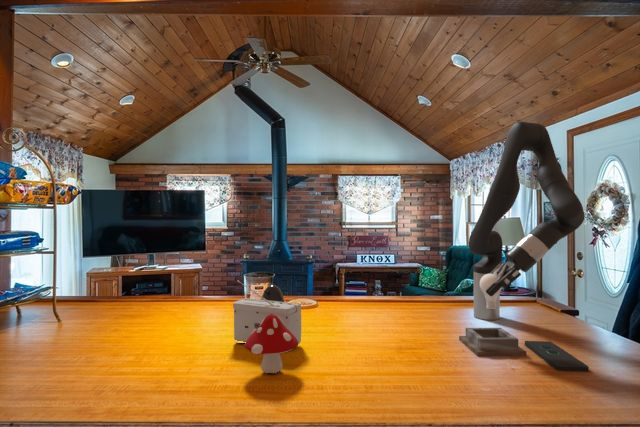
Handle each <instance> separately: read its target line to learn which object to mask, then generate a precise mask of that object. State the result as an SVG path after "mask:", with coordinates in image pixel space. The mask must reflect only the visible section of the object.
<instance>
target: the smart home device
mask: <svg viewBox="0 0 640 427" xmlns="http://www.w3.org/2000/svg"><path fill="white" fill-rule="evenodd" d="M524 346H525V347H526V348H527V349H528V350H530V351H531V352H533V353H534V354H535V355H536V356H537V357H539V358H540V359H541V360H543V361H544V362H545V363H546V364H548V365H549V366H550V367H551V368H553V369H554V370H556V371H558V372H585V373H586V372H589V369H590V368H589V366H588V365H587V364H586V363H584V362H582V360H580V359H578V358H576V356H574V355H572V354H571V353H569V352H568V351H566V350H565V349H563V348H562V347H560V346H558V345H557V344H556V343H554V342H552V341H546V340H545V341H543V340H542V341H541V340H524Z"/></svg>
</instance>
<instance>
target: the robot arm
mask: <svg viewBox="0 0 640 427" xmlns="http://www.w3.org/2000/svg"><path fill="white" fill-rule="evenodd" d="M506 136H507V137H506V140H505V142H504V143H505V144H504V147H503V151H502V155H501V158H500V162H499V165H498V168H497V170H496V172H495V173H496V174H495V176H494V179H493V181H492V184H491V186H490V189H489V191H488V195H487V197H486V200H485V203H484V205H483V208H482V210H481V212H480V215H479V218H478V219H477V221H476V223H475V225H474V227H473V229H472V231H471V234H470V236H469V238H468V248H469V251H470V252H471V254H473V255H476V256H482V258H481V259H480V260H479V261H478V262H476V263H474V264H473V317H475V318H476V319H479V320H485V321H495V320H499V319H500V313H501V312H500V311H501V310H500V309H501V308H500V306H501V305H500V304H501V303H500V302H501V301H500V299H501V296H500V295H501V294H500V293H501V292H500V293H499V294H498V296H497V300H496V309H494V310H489V309H487V308H486V305H487V303H486V298H485V295H484V293H483V291H482V290H481V288H480V279H481V278H482V276H484V275H485V274H490V273H491V274H495V275H497V276H498V279H497V280H496V281H495V283H493V284H492V285H491V286H490V287H489V288H488V289H487V290H486V293H487V294H488V295H489V296H493V295H494V294H495V293H496V292H497V291H498V290H499V289H500V288H502V289H503V288H504V289H506V288H508V287H509V286H510V285H511V284H512V283H514V281H516V280H517V279H518V278H519V277H521V275H522V274H521V272H522V273H527V272H528V271H529V270H530V269H532V268H533V267H534V266H535V265H536V264H537V263H538V262H539V261H540V260H541V259H542V258H544V256H545V255H546V253H548V252H549V251H550V249H552V248H553V247H554V246H555V245H556V244H557V243H558V242H559V241H560V240H562V239H563V238H565V237H567V236H569V235H570V234H571V233H573V232H574V231H576V230H577V229H579V228H580V227H581V225H582V224H584V221H585V218H586V217H585V216H586V215H585V212H584V206H583V204H582V203H581V200H580V199H579V197H578V195H577V194H576V193H575V192H574V190H573V189H572V187H571V186H570V183H569V181H568V179H567V178H566V176H565V174H564V173H563V171H562V168H561V167H560V164H559V161H558V160H557V156H556V153H555V150H554V146H553V143H552V140H551V136H550V133H549V131H548V129H547V128H546V127H545V126H544V125H543V124H541V123H538V122H537V123H535V122H527V121H517V122H515V123H514V124H513V125H512V126H511V127H510V129H509V130H508V134H507V135H506ZM522 151H528V152H532V153H533V154H534V155H535V156H536V158H537V160H538V167H537V173H536V176H537V181H538V182H537V183H538V184H539V186H540V188H541V190H542V193H543V194H544V195H545V197H546V199H547V200H548V201H549V203H550V205H551V208H552V210H553V212H554V215H555V216H554V217H553V218H552V219H550V220H549V221H542V222H540V223H538V224H537V225H536V226H535V227H534V228H533V229H532V230H531V231H530V232H529V233H527V234H526V235H525V236H523V237H522V238H521V239H520V240H519V241H518V242H516V243H515V245H514V246H512V248H510V249H509V250H508V251H507V252H506V253H505V257H506V258H507V261H506V262H503V239H502V236H501V234H500V233H499V232H498V231H496V230H493V229H494V228H495V226H496V224H497V223H498V222H499V221H500V220H501V219H502V218H503V217H504V216H505V215H506V214H508V212H509V211H510V210H511V209H512V208H513V206H514V204H515V202H516V199H517V198H518V195H519V194H520V190H521V183H520V178H519V173H518V163H519V162H518V161H519V158H520V155H521V152H522ZM520 271H521V272H520Z"/></svg>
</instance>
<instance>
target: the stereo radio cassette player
mask: <svg viewBox="0 0 640 427" xmlns="http://www.w3.org/2000/svg"><path fill="white" fill-rule="evenodd" d="M237 282H238V283H240V284H241V285H243V286H244V287H245V288H247V289H248V290H249V291H250V292H252V293H253V294H255V295H256V296H257V297H259V299H257V298H249V297H248V298H247V297H245V298H243V299H239V300H236V301H234V302H233V304H232V308H233V336H234V337H233V338H234V341H235V340H237V341H243V342H246V341H247V339H248V338H249V336H250V335H251V333H252V332H253V331H254V330H255V329H257V328H258V327H259V326H260V324H261V322H262V321H263V319H264V318H265V317H266V316H268V315H270V314H273V315H276V316H278V317H280V318H281V320H282V322H283V325H284V326H285V327H286V328H287V329H288V330H289V331H290V332H291V333H292V334H293V335H294V336H295V337H296V338H297V340H298V345H300V344H301V343H302V307H301V304H300V303H297V302H294V303H293V302H278V301H268V300H266V299H265V298H263V297H262V296H261V295H260V294H259V293H257V292H256V291H255V290H254V289H252V288H250V287H248V286H247V285H245V284H243V283H242V282H241V281H240V280H239V279H238V280H237ZM261 298H262V299H263V300H261Z"/></svg>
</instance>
